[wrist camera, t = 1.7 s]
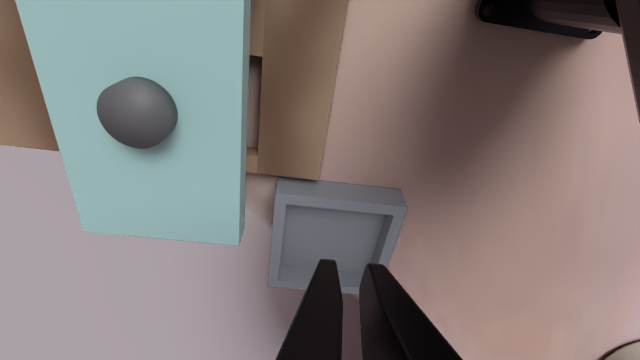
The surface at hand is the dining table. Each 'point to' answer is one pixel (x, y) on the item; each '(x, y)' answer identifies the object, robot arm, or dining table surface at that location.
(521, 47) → the dining table surface
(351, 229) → the slate tray
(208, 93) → the teal lid
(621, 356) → the travel mug
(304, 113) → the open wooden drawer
